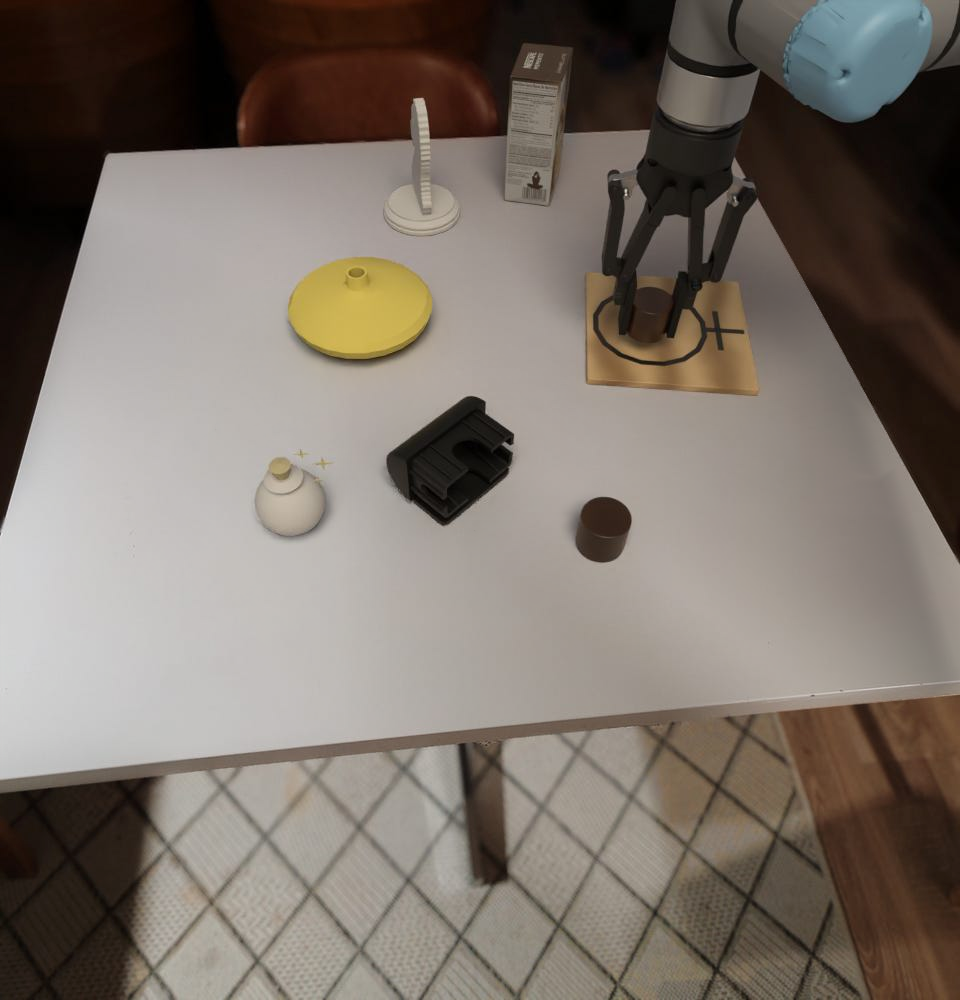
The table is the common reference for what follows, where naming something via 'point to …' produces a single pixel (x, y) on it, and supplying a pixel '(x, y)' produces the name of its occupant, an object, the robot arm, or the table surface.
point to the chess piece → (421, 189)
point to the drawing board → (672, 342)
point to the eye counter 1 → (603, 529)
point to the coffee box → (536, 122)
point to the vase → (360, 307)
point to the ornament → (290, 498)
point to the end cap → (452, 460)
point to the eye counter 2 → (650, 314)
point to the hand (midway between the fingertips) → (645, 327)
